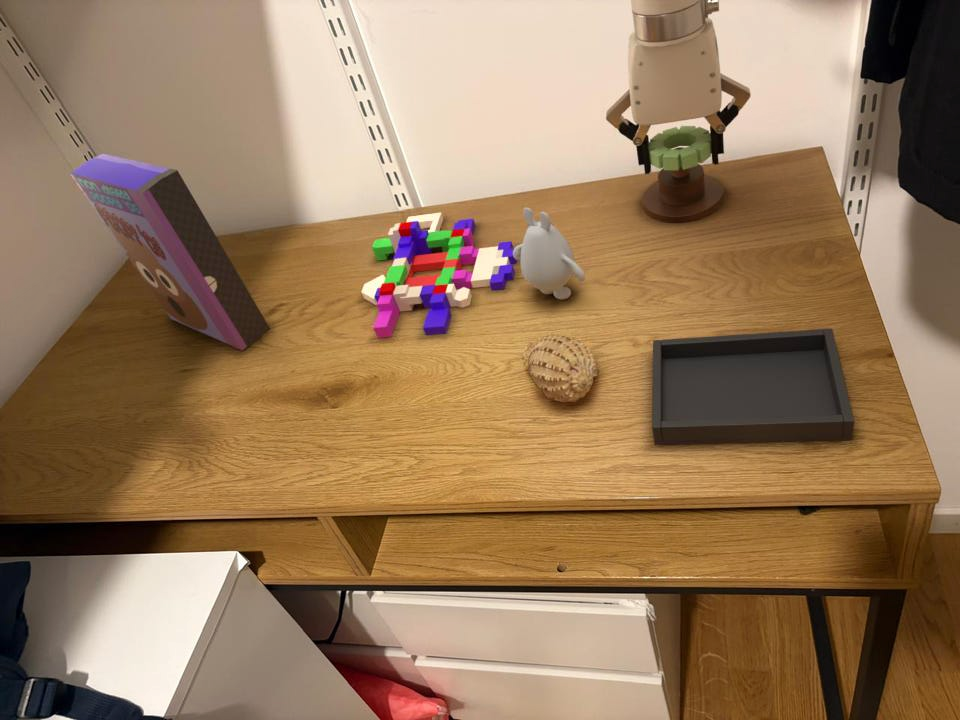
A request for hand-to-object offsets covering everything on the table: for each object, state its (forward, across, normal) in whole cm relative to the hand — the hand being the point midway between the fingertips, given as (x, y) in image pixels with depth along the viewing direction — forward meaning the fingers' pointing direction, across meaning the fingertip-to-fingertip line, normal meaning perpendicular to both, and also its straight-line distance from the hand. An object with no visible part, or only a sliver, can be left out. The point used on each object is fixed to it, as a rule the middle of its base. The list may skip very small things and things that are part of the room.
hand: (681, 162), depth 92 cm
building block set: (+6, +31, +10) cm, 33 cm away
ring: (-1, 0, 0) cm, 1 cm away
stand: (+6, 0, 0) cm, 6 cm away
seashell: (+6, +13, +31) cm, 34 cm away
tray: (+6, -5, +34) cm, 35 cm away
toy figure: (+6, +15, +17) cm, 23 cm away
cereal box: (+5, +62, +17) cm, 65 cm away
